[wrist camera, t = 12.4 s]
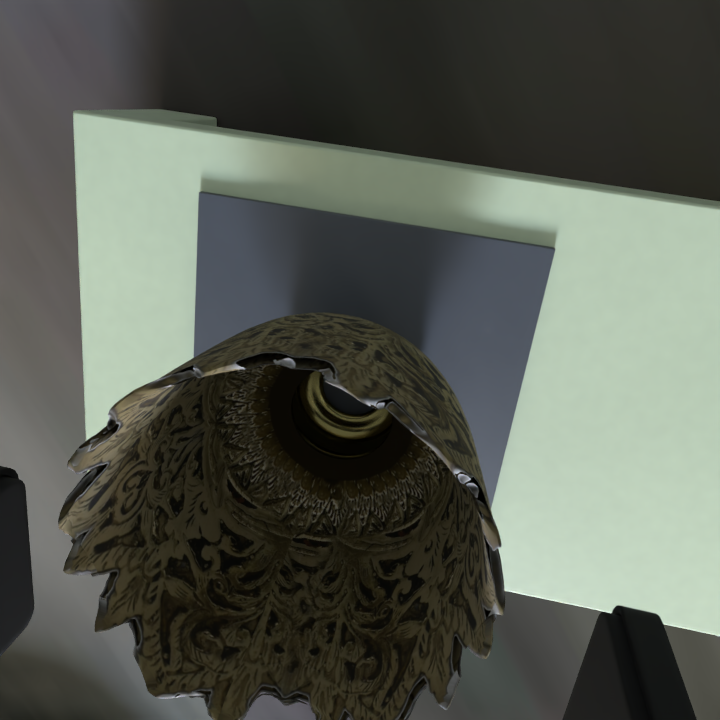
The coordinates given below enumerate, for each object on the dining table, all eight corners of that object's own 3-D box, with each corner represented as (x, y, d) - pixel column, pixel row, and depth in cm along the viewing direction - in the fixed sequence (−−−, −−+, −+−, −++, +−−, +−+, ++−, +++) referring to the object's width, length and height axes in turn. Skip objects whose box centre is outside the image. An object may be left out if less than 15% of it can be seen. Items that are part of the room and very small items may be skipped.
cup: (218, 475, 20) (65, 699, 12) (226, 233, 17) (33, 334, 9) (465, 523, 19) (460, 792, 11) (517, 276, 16) (555, 422, 9)
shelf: (1023, 236, 18) (1217, 281, 14) (848, 568, 23) (947, 690, 18) (158, 109, 21) (66, 109, 16) (156, 431, 26) (83, 506, 21)
